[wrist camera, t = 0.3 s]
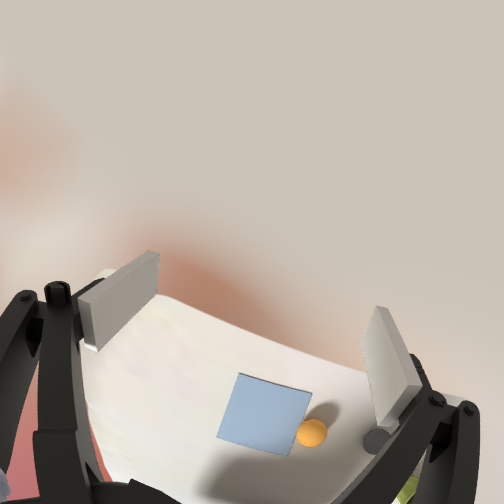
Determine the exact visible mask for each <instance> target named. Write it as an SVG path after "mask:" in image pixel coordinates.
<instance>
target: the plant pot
mask: <svg viewBox="0 0 504 504" xmlns="http://www.w3.org/2000/svg"><path fill="white" fill-rule="evenodd" d="M418 482H419V478H417V477H415V476H410V477H409V479H408V480H407V482H406V483H405V485H404V486H403V488H402V489H401V491H400V492H399V494H398V495H397V498H398V500H399V502H400V504H411V503H412V500H413V497H414V494H415V491H416V488H417V485H418Z"/></svg>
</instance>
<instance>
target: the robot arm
mask: <svg viewBox="0 0 504 504" xmlns="http://www.w3.org/2000/svg"><path fill="white" fill-rule="evenodd" d="M158 268H159V253H157V252H153V251H149V250H148V251H147V252H146V253H144V254H142V255H141V256H139V257H137V258H136V259H134V260H133V261H131V262H130V263H128V264H127V265H125V266H124V267H122V268H121V269H119V270H118V271H116V272H115V273H113V274H112V275H110V276H109V277H107V278H106V279H105V278H101V279H97V280H94V281H93V282H91V283H90V284H89V285H87V286H85V287H84V288H83V289H81V290H79V291H78V292H77V293H75V294H74V295H72V296H71V292H70V286H69V284H68V283H66V282H63V281H54V282H51V283H48V284H47V285H46V286H45V288H44V292H45V297H46V302H41V301H38V298H37V294H36V292H34V291H32V290H23V291H21V292H19V293H18V294H16V295H15V297H14V298H13V300H12V301H11V302H10V304H9V305H8V306H7V308H6V309H5V311H4V312H3V314H2V315H1V317H0V504H181V503H180V502H178V501H176V500H175V499H173V498H171V497H170V496H168V495H166V494H165V493H163V492H162V491H160V490H157V489H155V488H152V487H150V486H147V485H145V484H143V483H140V482H138V481H136V480H134V479H131V480H130V482H129V483H122V482H105V481H104V478H103V475H102V473H101V471H100V469H99V466H98V462H97V459H96V455H95V450H94V446H93V442H92V437H91V432H90V427H89V421H88V416H87V409H86V403H85V395H84V387H83V378H82V368H81V354H80V344H79V341H80V340H81V339H82V338H83V337H84V342H85V346H86V347H87V348H89V349H91V350H93V351H95V352H97V353H98V352H99V351H100V350H101V349H102V348H103V347H104V346H105V345H106V343H107V342H108V341H109V340H110V339H111V338H112V337H113V336H114V335H115V334H116V333H117V332H118V331H119V330H120V329H121V328H122V327H123V326H124V325H125V324H126V323H127V322H128V321H129V320H130V319H131V318H132V317H133V316H134V315H135V314H136V313H137V312H139V311H140V310H141V309H142V308H143V307H144V306H145V305H146V304H147V303H148V302H149V301H150V300H151V299H152V298H153V297H154V296H155V295H156V294H157V293H158V292H157V291H158V270H159V269H158ZM360 346H361V350H362V355H363V358H364V363H365V367H366V372H367V376H368V381H369V385H370V390H371V395H372V400H373V405H374V410H375V415H376V421H377V426H387V427H392V425H393V424H394V423H395V422H396V421H397V419H398V420H399V424H400V425H399V426H398V428H397V429H396V430H395V431H394V432H393V433H392V434H391V436H390V437H389V438H388V441H387V442H386V443H385V445H384V446H383V447H382V448H381V450H380V451H379V452H378V453H377V455H376V456H375V457H374V458H373V459H372V461H371V462H370V463H369V464H368V465H367V467H366V468H365V469H364V470H363V471H362V472H361V473H360V474H359V475H358V477H357V478H356V479H355V480H354V481H353V482H352V483H351V484H350V485H349V486H348V487H347V488H346V489H345V490H344V491H343V492H342V493H341V494H340V495H339V496H338V497H337V498H336V499H335V500H334V501H333V502H332V503H331V504H391V503H392V502H393V501H394V499H395V498H396V497H397V495H398V494H399V492H400V491H401V489H402V488H403V486H404V485H405V483H406V482H407V480H408V479H409V477H410V476H411V474H412V473H413V471H414V469H415V468H416V466H417V464H418V463H419V461H420V459H421V457H422V456H423V454H424V452H425V450H426V448H427V451H426V455H425V460H424V464H423V467H422V471H421V475H420V478H419V482H418V485H417V488H416V491H415V494H414V497H413V500H412V503H411V504H474V501H475V495H476V487H477V480H478V469H479V455H480V413H479V410H478V408H477V406H476V405H475V404H474V403H472V402H470V401H467V400H465V401H462V402H461V403H460V404H459V406H458V407H454V406H451V405H448V404H447V402H446V399H445V398H444V396H443V395H442V394H440V393H439V392H437V391H434V390H432V388H431V385H430V383H429V381H428V379H427V376H426V374H425V372H424V370H423V369H422V365H421V363H420V361H419V360H418V359H417V357H416V356H415V355H414V354H409V352H408V350H407V348H406V346H405V343H404V341H403V339H402V337H401V335H400V333H399V331H398V329H397V327H396V325H395V322H394V320H393V318H392V316H391V314H390V312H389V310H388V308H385V307H380V306H376V308H375V310H374V312H373V315H372V317H371V319H370V322H369V324H368V326H367V328H366V331H365V333H364V335H363V337H362V339H361V341H360ZM38 361H39V372H38V430H37V431H34V432H33V452H34V461H35V469H36V477H37V482H38V489H39V494H40V496H39V497H34V498H27V499H20V500H13V501H12V500H11V501H8V500H7V496H8V495H9V494H10V491H11V490H10V487H9V485H8V481H7V478H6V473H7V470H8V467H9V464H10V460H11V456H12V451H13V446H14V441H15V437H16V432H17V428H18V424H19V420H20V416H21V413H22V409H23V405H24V402H25V399H26V395H27V393H28V389H29V386H30V383H31V380H32V378H33V375H34V372H35V369H36V366H37V364H38Z"/></svg>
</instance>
